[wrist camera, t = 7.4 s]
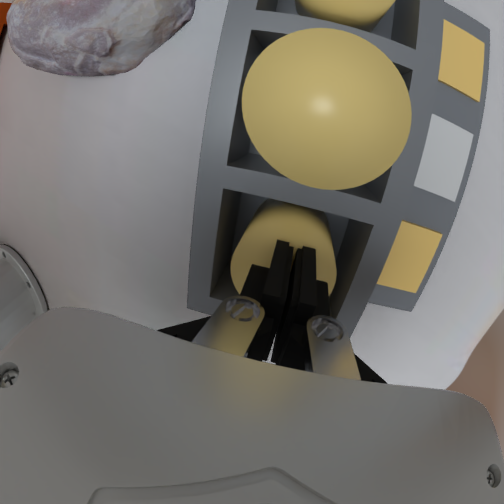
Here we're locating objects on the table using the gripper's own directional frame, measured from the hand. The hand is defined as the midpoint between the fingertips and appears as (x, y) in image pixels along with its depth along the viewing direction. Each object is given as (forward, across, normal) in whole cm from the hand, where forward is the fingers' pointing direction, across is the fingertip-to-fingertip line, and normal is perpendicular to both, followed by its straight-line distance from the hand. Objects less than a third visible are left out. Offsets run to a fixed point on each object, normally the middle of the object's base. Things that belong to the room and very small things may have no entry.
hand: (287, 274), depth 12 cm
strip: (+6, -8, -7) cm, 12 cm away
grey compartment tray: (+6, 0, -7) cm, 9 cm away
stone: (+7, +17, -14) cm, 23 cm away
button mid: (+2, 0, -7) cm, 7 cm away
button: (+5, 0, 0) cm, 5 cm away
